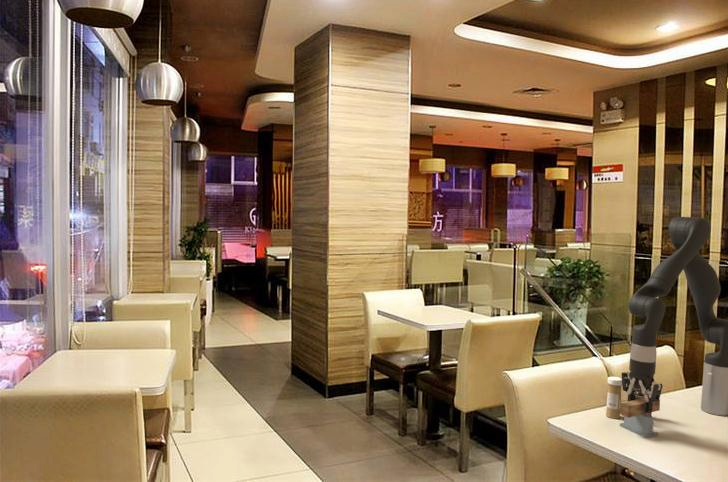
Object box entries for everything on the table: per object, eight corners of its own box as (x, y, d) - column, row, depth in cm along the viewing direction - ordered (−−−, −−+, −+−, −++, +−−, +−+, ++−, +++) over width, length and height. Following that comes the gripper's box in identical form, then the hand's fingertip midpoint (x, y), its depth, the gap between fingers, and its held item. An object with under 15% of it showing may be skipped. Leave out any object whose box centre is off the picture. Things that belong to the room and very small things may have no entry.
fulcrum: (630, 423, 192) (631, 406, 191) (656, 435, 183) (658, 417, 182) (619, 425, 190) (620, 408, 189) (645, 437, 181) (646, 419, 180)
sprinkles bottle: (622, 417, 197) (625, 379, 196) (614, 419, 195) (617, 381, 194) (610, 413, 201) (613, 375, 200) (602, 415, 199) (605, 377, 198)
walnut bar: (651, 407, 190) (651, 396, 190) (659, 410, 187) (660, 399, 187) (619, 414, 185) (620, 403, 184) (628, 417, 182) (628, 406, 181)
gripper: (671, 363, 179) (667, 416, 181) (632, 351, 192) (629, 400, 194) (654, 365, 176) (650, 419, 178) (616, 353, 189) (612, 403, 191)
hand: (639, 409), depth 186 cm, fingers open, 5 cm apart
